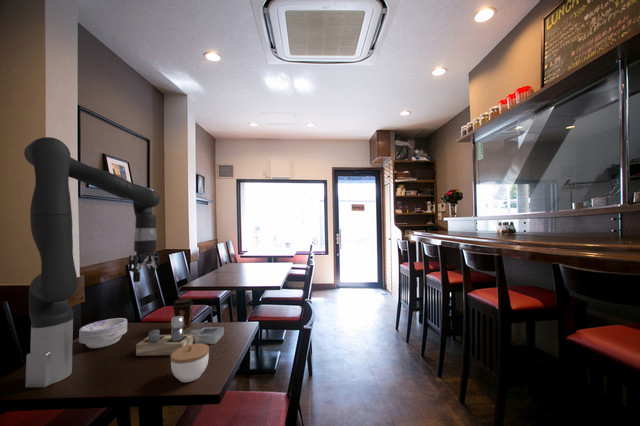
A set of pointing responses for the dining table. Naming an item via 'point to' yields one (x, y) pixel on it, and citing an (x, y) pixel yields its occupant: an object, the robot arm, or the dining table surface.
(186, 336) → the rack
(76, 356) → the dining table surface
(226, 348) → the dining table surface
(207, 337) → the socket block
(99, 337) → the paper bowls
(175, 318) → the grey metal cylinder
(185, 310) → the coffee cup
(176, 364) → the lidded jar
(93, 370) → the dining table surface
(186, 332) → the white and yellow block
